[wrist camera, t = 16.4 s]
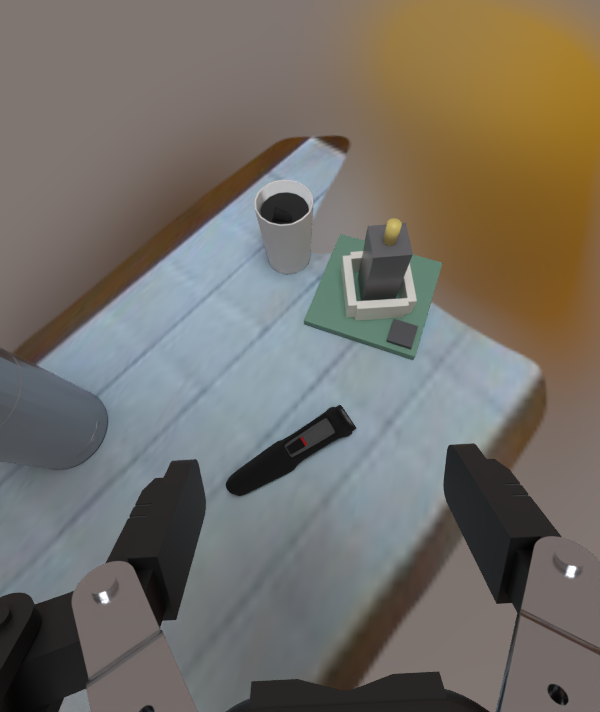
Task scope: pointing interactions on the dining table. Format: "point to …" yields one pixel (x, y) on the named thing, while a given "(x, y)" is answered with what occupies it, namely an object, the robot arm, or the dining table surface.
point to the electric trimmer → (291, 451)
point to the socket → (375, 307)
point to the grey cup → (285, 224)
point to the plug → (384, 261)
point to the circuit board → (330, 301)
